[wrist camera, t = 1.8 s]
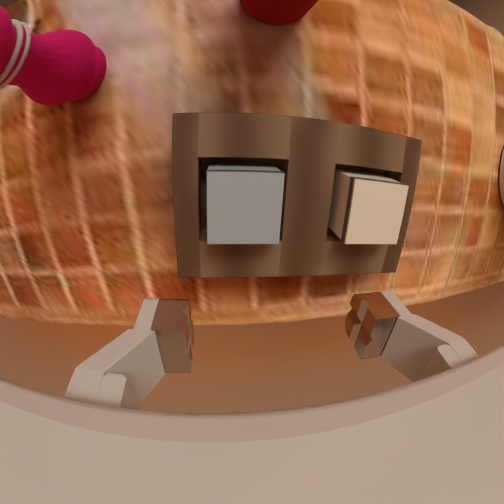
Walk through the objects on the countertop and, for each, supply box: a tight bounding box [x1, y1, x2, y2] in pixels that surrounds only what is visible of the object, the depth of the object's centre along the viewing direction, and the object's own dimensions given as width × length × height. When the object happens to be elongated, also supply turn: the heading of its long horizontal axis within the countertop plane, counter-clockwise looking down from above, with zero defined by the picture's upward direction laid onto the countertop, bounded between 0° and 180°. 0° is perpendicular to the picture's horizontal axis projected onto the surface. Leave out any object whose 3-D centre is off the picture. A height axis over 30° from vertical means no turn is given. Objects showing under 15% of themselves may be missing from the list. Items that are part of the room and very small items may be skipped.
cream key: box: [328, 169, 409, 244], centre depth 23 cm, size 6×6×5 cm
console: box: [172, 112, 422, 278], centre depth 25 cm, size 22×14×5 cm, turn 88°
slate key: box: [206, 163, 285, 244], centre depth 22 cm, size 6×6×5 cm
